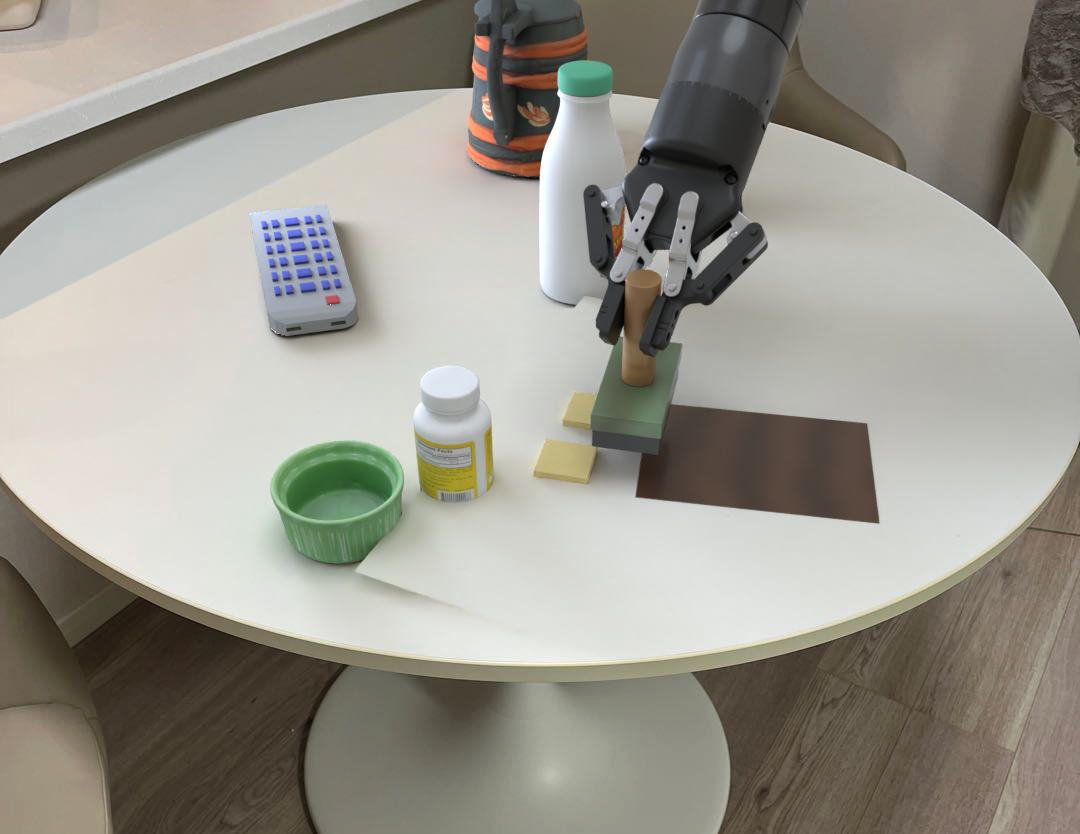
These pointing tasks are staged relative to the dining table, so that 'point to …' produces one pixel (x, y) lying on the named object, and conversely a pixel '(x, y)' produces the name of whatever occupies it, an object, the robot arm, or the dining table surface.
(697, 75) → the robot arm
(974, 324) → the dining table surface
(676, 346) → the brush
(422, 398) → the supplement bottle
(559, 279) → the milk bottle
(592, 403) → the crumb
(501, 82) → the beer stein
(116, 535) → the dining table surface
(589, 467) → the crumb
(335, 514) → the ramekin
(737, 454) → the tray
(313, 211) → the remote control
